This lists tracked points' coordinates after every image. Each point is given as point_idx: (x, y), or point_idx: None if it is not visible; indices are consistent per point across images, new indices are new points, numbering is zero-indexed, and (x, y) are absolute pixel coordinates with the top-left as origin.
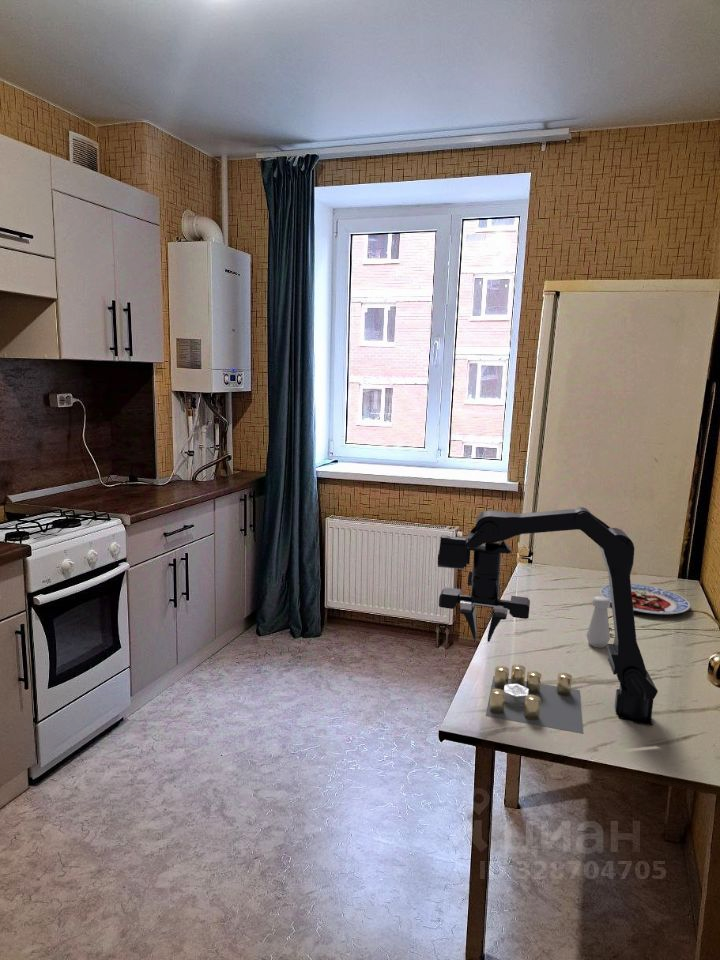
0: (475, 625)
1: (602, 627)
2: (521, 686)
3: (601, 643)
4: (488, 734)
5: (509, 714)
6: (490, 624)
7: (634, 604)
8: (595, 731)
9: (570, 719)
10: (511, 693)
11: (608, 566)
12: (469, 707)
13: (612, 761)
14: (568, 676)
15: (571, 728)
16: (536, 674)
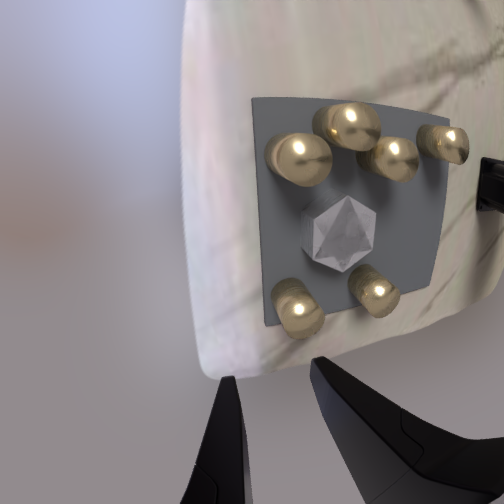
0: (248, 477)
1: None
2: (359, 208)
3: None
4: (277, 363)
5: (317, 296)
6: (363, 498)
7: None
8: (444, 259)
9: (423, 251)
10: (333, 263)
11: None
12: (218, 300)
13: (437, 319)
14: (464, 147)
15: (418, 281)
16: (408, 160)
